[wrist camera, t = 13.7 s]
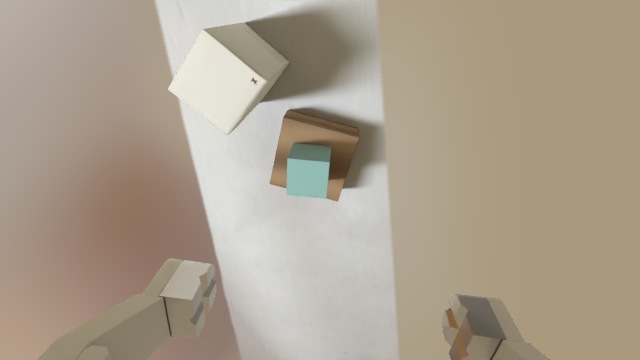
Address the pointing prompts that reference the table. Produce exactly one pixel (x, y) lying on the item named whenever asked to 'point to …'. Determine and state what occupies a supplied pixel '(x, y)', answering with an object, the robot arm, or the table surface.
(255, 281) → the table surface
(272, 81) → the supplement box
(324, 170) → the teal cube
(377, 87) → the table surface
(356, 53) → the table surface
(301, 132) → the walnut block
